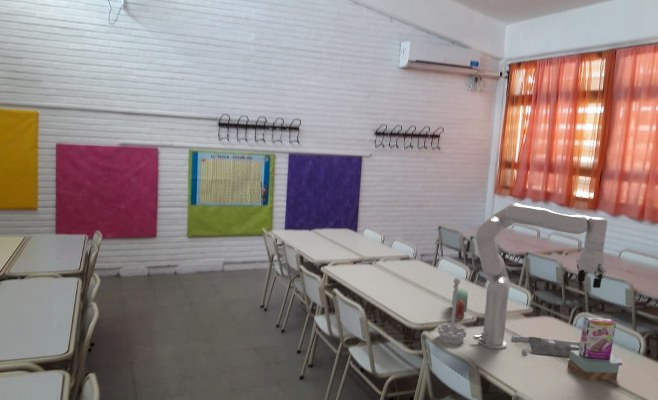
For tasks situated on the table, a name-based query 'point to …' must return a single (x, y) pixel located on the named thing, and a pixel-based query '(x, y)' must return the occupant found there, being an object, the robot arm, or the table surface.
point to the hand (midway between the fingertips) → (588, 284)
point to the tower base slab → (591, 373)
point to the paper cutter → (553, 346)
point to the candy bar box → (597, 338)
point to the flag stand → (452, 324)
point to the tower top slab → (594, 363)
